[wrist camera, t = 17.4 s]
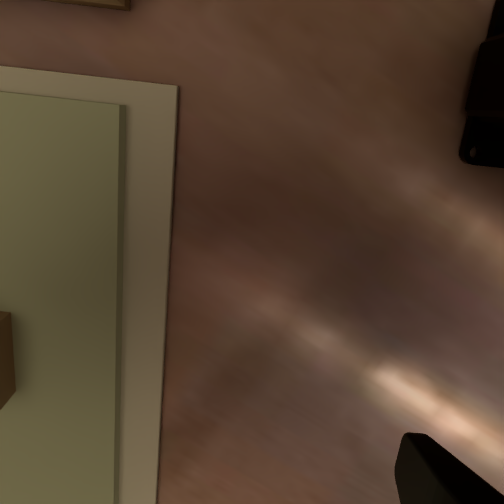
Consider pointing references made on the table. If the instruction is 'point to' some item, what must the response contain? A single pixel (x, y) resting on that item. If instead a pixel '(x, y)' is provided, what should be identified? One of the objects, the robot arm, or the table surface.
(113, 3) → the toolbox
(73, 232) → the lid
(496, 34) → the robot arm
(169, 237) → the mat
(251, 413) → the table surface
